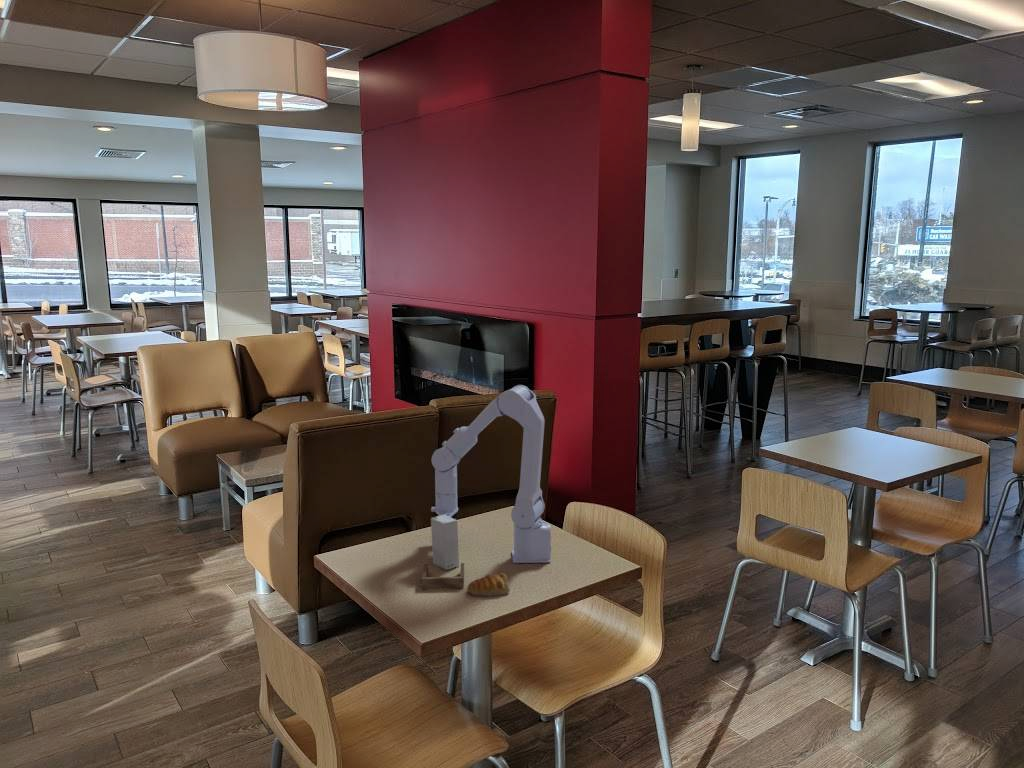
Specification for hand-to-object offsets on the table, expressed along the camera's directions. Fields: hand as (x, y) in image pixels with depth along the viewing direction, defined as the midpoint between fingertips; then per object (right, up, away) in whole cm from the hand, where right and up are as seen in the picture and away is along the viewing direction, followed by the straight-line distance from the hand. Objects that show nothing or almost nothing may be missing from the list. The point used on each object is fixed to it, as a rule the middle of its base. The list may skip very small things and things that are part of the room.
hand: (446, 541), depth 197 cm
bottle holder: (+1, -5, -20) cm, 21 cm away
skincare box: (+1, -4, -12) cm, 12 cm away
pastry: (+12, -6, -26) cm, 30 cm away
